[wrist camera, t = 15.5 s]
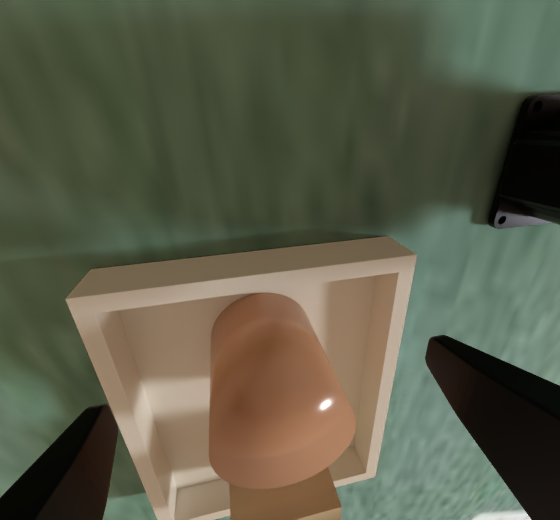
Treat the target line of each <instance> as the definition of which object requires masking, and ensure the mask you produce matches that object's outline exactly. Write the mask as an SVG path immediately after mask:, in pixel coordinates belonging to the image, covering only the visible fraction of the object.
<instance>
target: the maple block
mask: <svg viewBox="0 0 560 520" xmlns="http://www.w3.org/2000/svg"><path fill="white" fill-rule="evenodd" d="M229 493H230V517H231V520H340V516H341V504H340V501H339V498H338V495H337V492H336V489H335V486H334V483H333V480H332V477H331V474H330V471H329V468H328V467H327V468H325V469H324V470H322V471H321V472H319V473H317V474H315V475H314V476H312V477H309V478H307V479H305V480H303V481H300V482H297V483H294V484H291V485H287V486H283V487H278V488H271V489H250V488H243V487H239V486H236V485H233V484H230V483H229Z"/></svg>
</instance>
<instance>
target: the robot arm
mask: <svg viewBox="0 0 560 520" xmlns="http://www.w3.org/2000/svg"><path fill="white" fill-rule="evenodd" d="M533 106H534V108H533ZM546 223H556V224H559V225H560V94H543V95H532V96H529V97H528V98H526V99H525V100H524V102H523V103H522V105H521V108H520V111H519V114H518V118H517V121H516V125H515V128H514V132H513V135H512V139H511V142H510V146H509V149H508V153H507V156H506V159H505V163H504V166H503V170H502V173H501V177H500V180H499V184H498V187H497V191H496V194H495V197H494V201H493V204H492V208H491V211H490V215H489V218H488V224H489V225H490V226H491V227H494V228H497V229H502V228H511V227H520V226H529V225H537V224H546ZM425 360H426V364H427V366H428V368H429V370H430V371H431V373H432V375H433V376H434V378H435V380H436V381H437V383H438V385H439V386H440V388H441V390H442V392H443V393H444V395H445V397H446V398H447V400H448V402H449V403H450V405H451V407H452V408H453V410H454V411H455V413H456V415H457V416H458V418H459V419H460V420H461V422H462V423H463V425H464V426H465V428H466V429H467V430H468V432H469V433H470V434H471V436H472V437H473V439H474V440H475V441H476V443H477V444H478V446H479V447H480V448H481V450H482V451H483V453H484V454H485V455H486V457H487V458H488V460H489V461H490V462H491V464H492V465H493V467H494V468H495V469H496V471H497V472H498V473H499V475H500V476H501V478H502V479H503V480H504V482H505V483H506V485H507V486H508V487H509V489H510V490H511V492H512V493H513V494H514V496H515V497H516V499H517V500H518V501H519V503H520V504H521V506H522V507H523V508H524V510H525V511H526V512H527V514H528V515H529V517H530V518H531V519H532V520H560V386H559V385H557V384H554V383H552V382H550V381H548V380H545V379H543V378H541V377H539V376H536V375H534V374H532V373H530V372H527V371H525V370H523V369H521V368H518V367H516V366H514V365H511V364H509V363H507V362H505V361H502V360H500V359H498V358H496V357H493V356H491V355H489V354H487V353H484V352H482V351H480V350H478V349H475V348H473V347H471V346H469V345H466V344H464V343H462V342H459V341H457V340H455V339H453V338H450V337H448V336H446V335H439V336H434V337H431V338H430V339H429V342H428V347H427V352H426V356H425ZM117 436H118V426H117V423H116V420H115V418H114V416H113V414H112V412H111V410H110V408H109V406H108V405H107V404H100V405H95V406H91V407H88V408H87V409H85V410H84V411H83V412H82V413H81V415H80V416H79V417H78V418H77V419H76V420H75V421H74V422H73V423H72V424H71V425H70V426H69V427H68V428H67V429H66V430H65V431H64V432H63V433H62V434H61V435H60V436H59V437H58V438H57V439H56V440H55V442H54V443H53V444H52V445H51V446H50V447H49V448H48V449H47V450H46V451H45V452H44V453H43V454H42V455H41V456H40V457H39V458H38V459H37V460H36V461H35V462H34V463H33V464H32V465H31V466H30V467H29V468H28V470H27V471H26V472H25V473H24V474H23V475H22V476H21V477H20V478H19V479H18V480H17V481H16V482H15V483H14V484H13V485H12V486H11V487H10V488H9V489H8V490H7V491H6V492H5V493H4V494H3V495H2V497H1V498H0V520H102V519H103V515H104V511H105V507H106V503H107V497H108V492H109V486H110V479H111V473H112V467H113V461H114V455H115V448H116V442H117Z"/></svg>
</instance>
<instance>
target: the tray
mask: <svg viewBox="0 0 560 520" xmlns="http://www.w3.org/2000/svg"><path fill="white" fill-rule="evenodd" d="M416 259H417V254H415V253H414V252H412V251H411V250H409V249H408V248H406V247H404V246H403V245H401V244H400V243H398V242H396V241H395V240H393V239H392V238H390V237H389V236H385V237H376V238H367V239H358V240H349V241H340V242H331V243H322V244H313V245H304V246H295V247H286V248H277V249H268V250H259V251H250V252H241V253H232V254H223V255H214V256H205V257H196V258H187V259H178V260H169V261H160V262H151V263H142V264H133V265H124V266H116V267H107V268H98V269H91V270H90V271H89V272H88V273H87V274H86V275H85V277H84V278H83V279H82V280H81V281H80V282H79V284H78V285H77V286H76V287H75V288H74V289H73V291H72V292H71V293H70V294H69V295H68V296H67V298H66V299H65V300H66V302H67V304H68V307H69V309H70V312H71V314H72V316H73V319H74V321H75V323H76V326H77V328H78V331H79V333H80V335H81V338H82V340H83V343H84V345H85V347H86V350H87V352H88V355H89V357H90V359H91V362H92V364H93V367H94V369H95V371H96V374H97V376H98V378H99V381H100V383H101V386H102V388H103V390H104V393H105V395H106V398H107V400H108V402H109V405H110V407H111V410H112V412H113V414H114V417H115V419H116V422H117V424H118V426H119V429H120V431H121V433H122V436H123V438H124V441H125V443H126V445H127V448H128V450H129V453H130V455H131V457H132V460H133V462H134V465H135V467H136V469H137V472H138V474H139V477H140V479H141V481H142V484H143V486H144V488H145V491H146V493H147V496H148V498H149V500H150V503H151V505H152V508H153V510H154V512H155V515H156V517H157V520H214V519H218V518H222V517H226V516H230V493H229V483H228V482H226V481H224V480H223V479H222V478H220V477H219V476H218V475H217V474H216V473H215V472H214V470H213V468H212V467H211V464H210V461H209V406H210V347H211V331H212V327H213V325H214V322H215V321H216V319H217V317H218V316H219V315H220V313H221V312H222V311H223V310H224V309H225V308H226V307H227V306H229V305H230V304H231V303H233V302H235V301H236V300H238V299H240V298H243V297H245V296H248V295H251V294H256V293H277V294H281V295H284V296H287V297H289V298H291V299H293V300H294V301H296V302H297V303H298V304H299V305H300V306H301V307H302V308H303V310H304V311H305V313H306V315H307V317H308V319H309V321H310V323H311V325H312V327H313V329H314V331H315V333H316V335H317V337H318V339H319V341H320V343H321V345H322V347H323V349H324V352H325V354H326V356H327V358H328V360H329V362H330V364H331V366H332V368H333V370H334V372H335V374H336V376H337V378H338V380H339V382H340V384H341V386H342V388H343V390H344V392H345V395H346V397H347V399H348V401H349V403H350V405H351V407H352V409H353V411H354V414H355V418H356V429H355V433H354V436H353V438H352V441H351V442H350V444H349V446H348V447H347V449H346V450H345V451H344V452H343V454H342V455H341V456H340V457H339V458H338V459H337V460H336V461H335V462H333V463H332V464H331V465H330V466H328V468H329V471H330V474H331V477H332V480H333V483H334V486H335V487H339V486H342V485H346V484H350V483H354V482H357V481H361V480H365V479H369V478H372V477H375V475H376V470H377V464H378V459H379V454H380V449H381V443H382V438H383V433H384V428H385V422H386V417H387V412H388V406H389V401H390V396H391V391H392V385H393V380H394V375H395V369H396V364H397V359H398V354H399V348H400V343H401V338H402V333H403V327H404V322H405V317H406V311H407V306H408V301H409V296H410V290H411V285H412V280H413V274H414V269H415V264H416Z"/></svg>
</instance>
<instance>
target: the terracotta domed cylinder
mask: <svg viewBox="0 0 560 520" xmlns="http://www.w3.org/2000/svg"><path fill="white" fill-rule="evenodd" d="M355 429H356V418H355V414H354V411H353V409H352V407H351V405H350V403H349V401H348V399H347V397H346V395H345V392H344V390H343V388H342V386H341V384H340V382H339V380H338V378H337V376H336V374H335V372H334V370H333V368H332V366H331V364H330V362H329V360H328V358H327V356H326V354H325V352H324V349H323V347H322V345H321V343H320V341H319V339H318V337H317V335H316V333H315V331H314V329H313V327H312V325H311V323H310V321H309V319H308V317H307V315H306V313H305V311H304V310H303V308H302V307H301V306H300V305H299V304H298V303H297V302H296V301H294V300H293V299H291V298H289V297H287V296H284V295H281V294H277V293H256V294H251V295H248V296H245V297H243V298H240V299H238V300H236V301H235V302H233V303H231V304H230V305H229V306H227V307H226V308H225V309H224V310H223V311H222V312H221V313H220V315H219V316H218V317H217V319H216V321H215V322H214V325H213V327H212V331H211V347H210V406H209V461H210V464H211V467H212V468H213V470H214V472H215V473H216V474H217V475H218V476H219V477H220V478H222V479H223V480H224V481H226V482H228V483H230V484H233V485H236V486H239V487H243V488H250V489H271V488H278V487H283V486H287V485H291V484H294V483H297V482H300V481H303V480H305V479H307V478H309V477H312V476H314V475H315V474H317V473H319V472H321V471H322V470H324V469H325V468H327V467H328V466H330V465H331V464H332V463H333V462H335V461H336V460H337V459H338V458H339V457H340V456H341V455H342V454H343V452H344V451H345V450H346V449H347V447H348V446H349V444H350V442H351V441H352V438H353V436H354V433H355Z"/></svg>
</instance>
